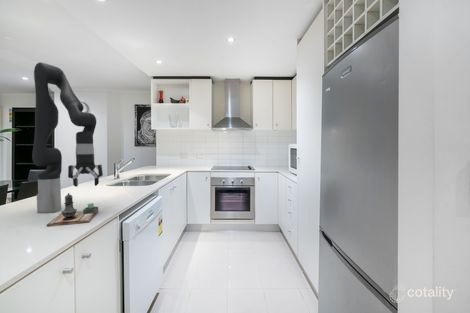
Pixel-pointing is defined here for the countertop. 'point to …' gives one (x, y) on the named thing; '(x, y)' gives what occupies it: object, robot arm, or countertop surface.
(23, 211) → the countertop surface
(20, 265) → the countertop surface
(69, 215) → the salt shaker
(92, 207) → the button
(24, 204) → the countertop surface
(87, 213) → the picture board
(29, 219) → the countertop surface
